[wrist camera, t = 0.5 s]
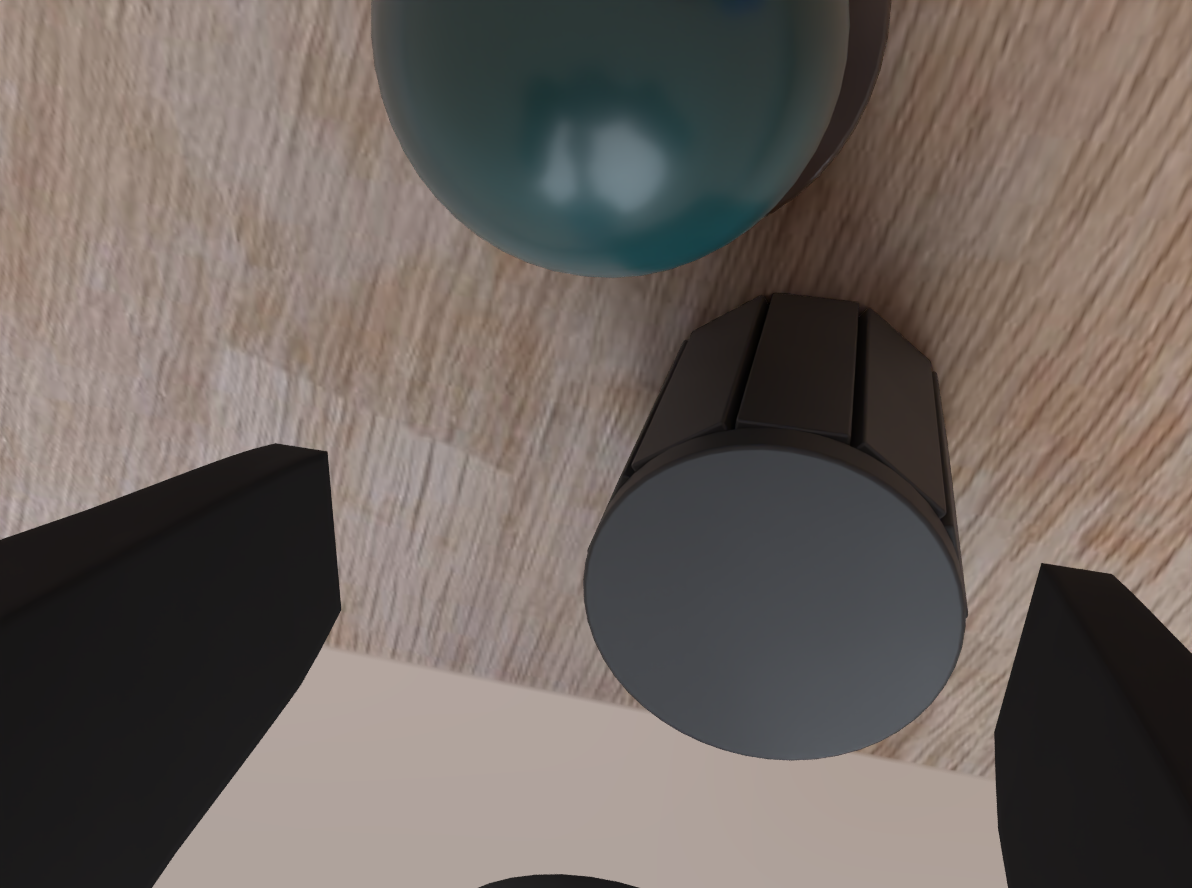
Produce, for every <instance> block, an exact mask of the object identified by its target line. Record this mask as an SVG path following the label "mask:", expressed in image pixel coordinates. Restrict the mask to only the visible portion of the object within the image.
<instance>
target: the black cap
mask: <svg viewBox="0 0 1192 888" xmlns="http://www.w3.org/2000/svg"><path fill="white" fill-rule="evenodd" d="M858 316H859V303H857V302H850V301H841V300H833V299H824V298H816V297H807V296H798V295H790V294H781V293H774V294H773V295H772V299H771V302H770V306H769V304H768V302H767V301H766V299H765V297H764V296H763V295H762V296H759V297H757V298H755V299H753V300H751V301H749V302H747V303H746V304H744V305H742V306H740V307H738V308H736V309H734V310H732V311H731V312H729V313H727V314H725V315H723V316H721V317H719V318H717V319H715V320H714V321H712V322H710V323H708V324H706V325H704V326H702V327H700V328H698V329H697V330H695V331H693V332H692V334H691V336H690V338H689V340H688V341H687V340H685V341H684V342H683V344H682V346H681V348H680V350H679V352H678V354H677V356H676V359H675V361H674V363H673V365H672V367H671V369H670V371H669V374H668V376H667V378H666V380H665V382H664V384H663V386H662V388H661V391H660V393H659V395H658V397H657V399H656V401H655V403H654V406H653V408H652V410H651V412H650V414H649V416H648V418H647V421H646V423H645V425H644V427H643V429H642V431H641V433H640V435H639V438H638V440H637V442H636V444H635V446H634V448H633V450H632V453H631V455H630V457H629V459H628V461H627V463H626V465H625V467H624V470H623V472H622V474H621V476H620V478H619V481H618V483H617V485H616V487H615V489H614V492H613V494H612V496H611V498H610V501H609V503H608V505H607V507H606V510H605V512H604V514H603V516H602V519H601V521H600V523H599V525H598V528H597V530H596V532H595V534H594V536H593V539H592V541H591V543H590V545H589V548H588V550H587V551H588V554H587V558H586V562H585V570H584V579H583V587H584V603H585V609H586V614H587V619H588V623H589V626H590V629H591V632H592V635H593V638H594V641H595V643H596V645H597V647H598V649H599V651H600V653H601V655H602V657H603V659H604V661H605V662H606V664H607V665H608V667H609V668H610V670H611V671H612V673H613V674H614V676H615V677H616V678H617V680H618V681H619V682H620V683H621V684H622V685H623V687H624V688H625V689H626V690H627V691H628V693H629V694H631V695H632V696H633V697H634V698H635V699H636V700H637V701H638V702H639V703H640V704H641V705H642V706H643V707H644V708H646V709H647V710H648V711H650V712H651V713H652V714H654V715H655V716H656V717H658V718H659V719H660V720H662V721H663V722H665V723H666V724H668V725H670V726H672V727H673V728H675V729H676V730H678V731H680V732H681V733H683V734H686V735H688V736H690V737H692V738H694V739H696V740H698V741H700V742H703V743H705V744H708V745H711V746H714V747H716V748H719V749H722V750H726V751H729V752H733V753H737V754H741V755H745V756H751V757H758V758H764V759H775V760H809V759H819V758H826V757H833V756H838V755H842V754H846V753H849V752H853V751H857V750H860V749H863V748H865V747H868V746H870V745H873V744H875V743H878V742H880V741H882V740H884V739H886V738H887V737H889V736H891V735H893V734H895V733H897V732H898V731H900V730H901V729H903V728H904V727H905V726H907V725H908V724H909V723H911V722H912V721H913V720H915V719H916V718H917V717H918V716H919V715H920V714H921V713H922V712H923V711H924V710H925V709H926V708H928V707H929V706H930V705H931V704H932V702H933V701H934V700H935V698H936V697H937V696H938V694H939V693H940V692H941V690H942V689H943V688H944V686H945V685H946V683H947V681H948V679H949V678H950V676H951V674H952V672H953V670H954V668H955V666H956V663H957V660H958V657H959V655H960V652H961V649H962V645H963V639H964V632H965V626H966V618H967V617H968V609H967V600H966V592H965V584H964V575H963V567H962V559H961V551H960V542H959V534H958V526H957V518H956V509H955V501H954V493H953V484H952V476H951V468H950V460H949V451H948V443H947V437H946V430H945V424H944V417H943V410H942V404H941V397H940V391H939V384H938V377H937V373H936V372H932V371H931V362H930V361H929V360H928V359H927V358H926V357H925V356H924V355H923V354H921V353H920V352H919V351H918V350H917V349H916V348H915V347H914V346H913V345H911V344H910V343H909V342H908V341H907V340H906V339H905V338H904V337H902V336H901V335H900V334H899V333H898V332H897V331H896V330H895V329H893V328H892V327H891V326H890V325H889V324H888V323H887V322H886V321H885V320H883V319H882V318H881V317H880V316H879V315H878V314H877V313H876V312H874V311H873V310H872V309H871V308H868V309H866V310H865V311H864V312H863V313H862V314H861V315H860V316H859V317H858Z"/></svg>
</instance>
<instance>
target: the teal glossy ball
mask: <svg viewBox="0 0 1192 888" xmlns="http://www.w3.org/2000/svg"><path fill="white" fill-rule="evenodd" d="M890 8H891V0H372V2H371V39H372V48H373V57H374V66H375V70H376V75H377V79H378V84H379V88H380V93H381V97H382V100H383V103H384V105H385V108H386V111H387V114H388V117H389V120H390V123H391V126H392V128H393V130H394V132H395V134H396V136H397V138H398V140H399V142H400V144H401V147H402V149H403V151H404V153H405V154H406V156H407V157H408V159H409V161H410V162H411V164H412V165H413V167H414V169H415V170H416V172H417V173H418V175H419V177H420V178H421V179H422V180H423V182H424V183H425V184H426V186H427V187H428V188H429V189H430V191H431V192H432V193H433V194H434V196H435V197H436V198H437V199H438V200H439V201H440V202H441V203H442V204H443V205H444V206H445V207H446V208H447V209H448V210H449V211H450V212H451V214H452V215H453V216H454V217H455V218H456V219H457V220H459V221H460V222H461V223H463V224H464V225H465V226H466V227H468V228H469V229H470V230H471V231H473V232H474V233H475V234H476V235H478V236H479V237H480V238H482V239H484V240H485V241H487V242H489V243H490V244H492V245H493V246H495V247H497V248H498V249H500V250H501V251H503V252H505V253H508V254H510V255H512V256H514V257H516V258H518V259H521V260H523V261H525V262H527V263H530V264H533V265H536V266H540V267H543V268H546V269H549V270H552V271H557V272H562V273H568V274H573V275H579V276H587V277H606V278H619V277H632V276H643V275H647V274H652V273H657V272H661V271H666V270H670V269H673V268H676V267H678V266H681V265H684V264H687V263H690V262H692V261H695V260H697V259H700V258H702V257H704V256H706V255H708V254H710V253H712V252H714V251H716V250H718V249H719V248H721V247H723V246H725V245H727V244H729V243H730V242H732V241H733V240H735V239H736V238H738V237H739V236H740V235H742V234H743V233H745V232H746V231H748V230H749V229H751V228H752V227H753V226H754V225H755V224H756V223H758V222H759V221H760V220H761V219H762V218H764V217H766V216H768V215H769V214H771V213H773V212H775V211H776V210H777V209H779V208H780V207H782V206H783V205H785V204H786V203H788V202H789V201H790V200H792V199H793V198H795V197H796V196H797V195H799V194H800V193H801V192H802V191H803V190H804V189H805V188H806V187H807V186H809V185H810V184H811V183H812V182H813V181H814V180H815V179H816V178H817V177H818V176H819V175H820V174H821V173H822V172H823V171H824V170H825V168H826V167H827V166H828V165H829V164H830V163H831V161H832V160H833V159H834V158H835V157H836V156H837V155H838V153H839V152H840V150H841V149H842V147H843V146H844V144H845V143H846V141H847V140H848V138H849V137H850V135H851V134H852V132H853V131H854V129H855V128H856V126H857V124H858V122H859V120H860V118H861V116H862V114H863V112H864V110H865V108H866V106H867V104H868V102H869V100H870V97H871V94H872V92H873V89H874V86H875V83H876V80H877V78H878V75H879V72H880V69H881V65H882V60H883V56H884V51H885V47H886V42H887V38H888V29H889V19H890Z"/></svg>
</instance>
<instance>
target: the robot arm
mask: <svg viewBox="0 0 1192 888" xmlns="http://www.w3.org/2000/svg"><path fill="white" fill-rule="evenodd" d="M340 611H341V600H340V589H339V577H338V566H337V555H336V543H335V532H334V521H333V509H332V498H331V487H330V475H329V464H328V453H327V451H321V450H314V449H308V448H302V447H295V446H289V445H282V444H276V443H275V444H271V445H267V446H263V447H259V448H255V449H252V450H249V451H245V452H242V453H239V454H236V455H233V456H230V457H227V458H224V459H222V460H219V461H216V462H213V463H210V464H208V465H205V466H202V467H200V468H197V469H194V470H191V471H189V472H186V473H184V474H181V475H178V476H176V477H173V478H170V479H168V480H165V481H162V482H160V483H157V484H155V485H152V486H149V487H147V488H144V489H141V490H139V491H136V492H133V493H131V494H128V495H125V496H123V497H120V498H118V499H115V500H112V501H110V502H107V503H104V504H102V505H99V506H96V507H94V508H91V509H88V510H86V511H83V512H80V513H77V514H74V515H71V516H68V517H65V518H62V519H59V520H57V521H54V522H51V523H48V524H45V525H42V526H39V527H36V528H33V529H31V530H28V531H25V532H22V533H19V534H16V535H13V536H10V537H7V538H4V539H2V540H0V888H152V887H153V885H154V884H155V882H156V881H157V880H158V878H159V877H160V875H161V874H162V872H163V871H164V869H165V868H166V867H167V865H168V864H169V862H170V861H171V859H172V858H173V856H174V855H175V853H176V852H177V851H178V849H179V848H180V847H181V845H182V844H183V843H184V841H185V840H186V839H187V837H188V836H189V835H190V833H191V832H192V831H193V829H194V828H195V827H196V825H197V824H198V823H199V821H200V820H201V819H202V818H203V816H204V815H205V813H206V812H207V811H208V810H209V808H210V807H211V806H212V804H213V803H214V801H215V800H216V799H217V798H218V796H219V795H220V794H221V792H222V791H223V790H224V788H225V787H226V786H227V784H228V783H229V782H230V780H231V779H232V777H233V776H234V775H235V774H236V772H237V771H238V770H239V768H240V767H241V766H242V764H243V763H244V762H245V760H246V759H247V758H248V756H249V755H250V753H251V752H252V751H253V750H254V748H255V747H256V745H257V744H258V743H259V742H260V740H261V739H262V738H263V736H264V735H265V733H266V732H267V731H268V729H269V728H270V727H271V725H272V724H273V723H274V721H275V720H276V719H277V717H278V716H279V714H280V713H281V712H282V710H283V709H284V708H285V706H286V705H287V704H288V702H289V701H290V699H291V698H292V697H293V695H294V693H295V692H296V691H297V690H298V688H299V686H300V685H301V683H302V682H303V680H304V678H305V676H306V675H307V673H308V671H309V669H310V668H311V666H312V664H313V662H314V660H315V659H316V657H317V655H318V654H319V652H320V650H321V648H322V646H323V644H324V642H325V640H326V638H327V636H328V635H329V633H330V631H331V629H332V627H333V625H334V623H335V621H336V619H337V617H338V615H339V613H340ZM994 737H995V771H996V794H997V795H996V796H997V815H998V831H999V836H1000V842H1001V849H1002V855H1003V861H1004V866H1005V872H1006V878H1007V884H1008V888H1192V653H1191V652H1190V651H1189V650H1188V649H1187V648H1186V647H1185V646H1184V645H1183V644H1182V643H1181V642H1180V641H1179V640H1178V639H1177V638H1176V637H1175V636H1174V635H1173V634H1172V633H1171V632H1170V631H1169V630H1168V629H1167V628H1166V627H1165V626H1164V625H1163V624H1162V623H1161V622H1160V621H1159V620H1158V619H1157V618H1156V617H1155V616H1154V615H1153V614H1152V612H1151V611H1150V610H1149V609H1148V608H1147V607H1146V606H1145V605H1144V604H1143V603H1142V602H1141V601H1140V600H1139V599H1138V598H1137V597H1136V596H1135V595H1134V594H1133V593H1132V592H1131V591H1130V590H1129V589H1128V588H1126V587H1125V586H1124V585H1123V584H1122V583H1121V582H1120V581H1119V580H1118V579H1117V578H1116V577H1115V576H1113V575H1112V574H1108V573H1102V572H1095V571H1089V570H1083V569H1076V568H1070V567H1063V566H1057V565H1051V564H1044V563H1041V567H1040V570H1039V574H1038V577H1037V581H1036V585H1035V588H1034V592H1033V595H1032V599H1031V602H1030V606H1029V610H1028V613H1027V617H1026V620H1025V624H1024V628H1023V631H1022V635H1021V638H1020V642H1019V646H1018V649H1017V653H1016V656H1015V660H1014V663H1013V667H1012V671H1011V674H1010V678H1009V681H1008V685H1007V689H1006V692H1005V696H1004V699H1003V703H1002V707H1001V710H1000V714H999V717H998V721H997V724H996V728H995V732H994Z"/></svg>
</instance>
